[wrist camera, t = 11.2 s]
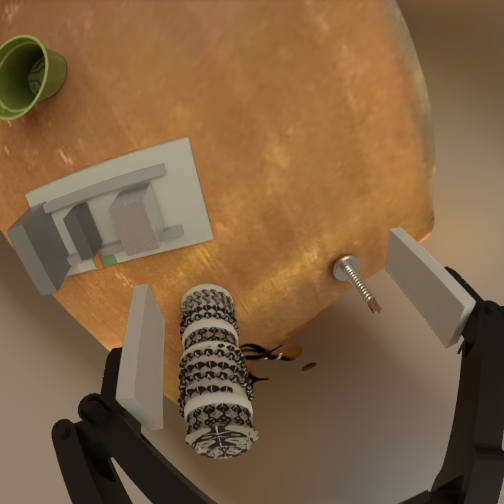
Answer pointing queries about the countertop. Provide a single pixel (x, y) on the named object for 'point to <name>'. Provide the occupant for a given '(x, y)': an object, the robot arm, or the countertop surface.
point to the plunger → (137, 219)
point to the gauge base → (99, 201)
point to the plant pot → (27, 75)
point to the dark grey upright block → (84, 233)
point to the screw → (355, 279)
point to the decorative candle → (214, 376)
